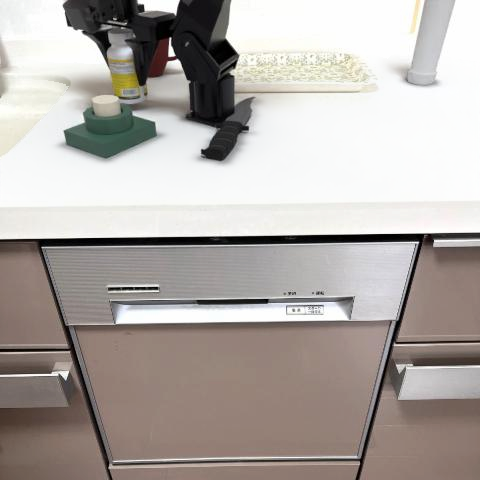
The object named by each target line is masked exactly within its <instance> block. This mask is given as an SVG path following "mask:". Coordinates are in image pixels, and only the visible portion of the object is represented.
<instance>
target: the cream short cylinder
mask: <svg viewBox="0 0 480 480" xmlns="http://www.w3.org/2000/svg"><path fill="white" fill-rule="evenodd" d="M91 102H92V103H91V104H92V106H93V109H94V114H95V115H96V116H101V117H108V116H115V115H118V114H121V109H120V104H121V103H120V102H119V98H118V97H117V96H114V94H101V95H97V96H94V97H92V99H91Z"/></svg>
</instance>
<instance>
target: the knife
mask: <svg viewBox="0 0 480 480" xmlns="http://www.w3.org/2000/svg"><path fill="white" fill-rule="evenodd" d="M256 98H257V96H251V97H247V98H244V99H242V100H240V101H239V102H238V103H237V104H235V113H234V114H233V115H231V116H229V117H228V118H227V119H226V120H225V121H224V122H223V123H217V124H216V126H215V129H216V130H217V131H216V132H215V133H214V135H213V136H212V138H211V139H210V141H209V144H208V147H206V148H205V149H204V148H201V149H200V155H202V156H204V157H205V158H206V159H207V160H211V161H219V162H220V161H223V160H224V159H225V158H226V157H227V155H228V154H229V153H230V152H231V151H232V150H233V148H234V146H235V145H236V143H237V141H238V136H239V134H241V133H242V132H249V131H250V125H246V124H247V121H248V120H249V118H250V116H251V115H252V112H253V109H252V106H251V102H252V101H253V100H255V99H256Z"/></svg>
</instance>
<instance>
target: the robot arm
mask: <svg viewBox="0 0 480 480" xmlns="http://www.w3.org/2000/svg"><path fill="white" fill-rule="evenodd" d="M231 4H232V0H179V1H178V4H177V8H176V12H175V13H176V14H175V13H174V12H169V11H162V10H151V11H152V12H147V13H144V12H145V11H146V9H145V4H144V3H139V0H65V1H64V2H63V4H62V8H63V11H64V16H65V21H66V25H67V27H68V28H72V29H73V30H74V31H79V30H80V31H81V34H82V35H83V36H86V37H88V38H89V39H90V40H91V41H92V42H93V43H95V45H96V46H97V49H98V50H99V52H100V54H101V55H102V57H103V59H104V62H105V63H106V65H107V68H108V70H109V71H110V69H109V63H108V58H107V50H108V49H109V48H110V47H111V46H112V45H111V43H110V42H109V37H108V31H109V30H112V29H119V28H127V29H132V32H133V36H134V37H133V38H129V39H125V40H124V41H125V42H126V43H127V45H128V46H129V47H130V48H131V49H132V52H133V58H134V63H135V69H136V75H137V79H138V83H139V86H144V85H145V84H146V85H147V81H148V75H149V72H150V68H151V65H152V62H153V59H154V56H155V53H156V51H157V48H158V46H159V43H160V41H161V40H164V39H168V38H170V46H171V48H172V50H173V54H174V56H176V57H177V60H178V61H179V63H180V66H181V68H182V71H183V74H184V76H185V79H186V81H187V82H188V95H189V97H188V98H189V108H190V109H189V110H190V112H188V113H186V114H185V118H186V119H189V120H192V121H196V122H199V123H203V124H207V125H210V126H214V127H216V124H217V123H223V122H224V121H225V120H226V119H227V118H228V117H229V116H231V115H233V114H234V113H235V106H236V104H235V103H236V101H235V100H236V99H235V98H236V97H235V94H236V93H235V92H236V89H235V88H236V82H235V81H236V79H235V77H236V76H235V75H234V74H231V72H232V71H234V70H235V69H236V68H237V66H238V63H239V60H240V54H239V53H238V51H237V50H236V49H235V48H234V46H233V45H232V44H231V43H230V42H229V40H228V39H227V33H228V29H229V25H230V15H231ZM139 13H142V14H139ZM126 20H127V22H126Z"/></svg>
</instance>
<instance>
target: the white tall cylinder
mask: <svg viewBox="0 0 480 480" xmlns="http://www.w3.org/2000/svg"><path fill="white" fill-rule="evenodd" d="M455 4H456V0H424V2H423V7H422V12H421V16H420V21H419V27H418V31H417V35H416V41H415V45H414V50H413V55H412V60H411V63H410V68H409V69H408V71H407V78H406V79H407V82H408V83H410V84H412V85H418V86H429V85H432V84H433V83H434V82H435V80H436V77H437V74H438V72H437V67H438V64H439V62H440V58H441V53H442V50H443V47H444V43H445V39H446V36H447V33H448V28H449V25H450V22H451V18H452V14H453V11H454V7H455Z"/></svg>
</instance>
